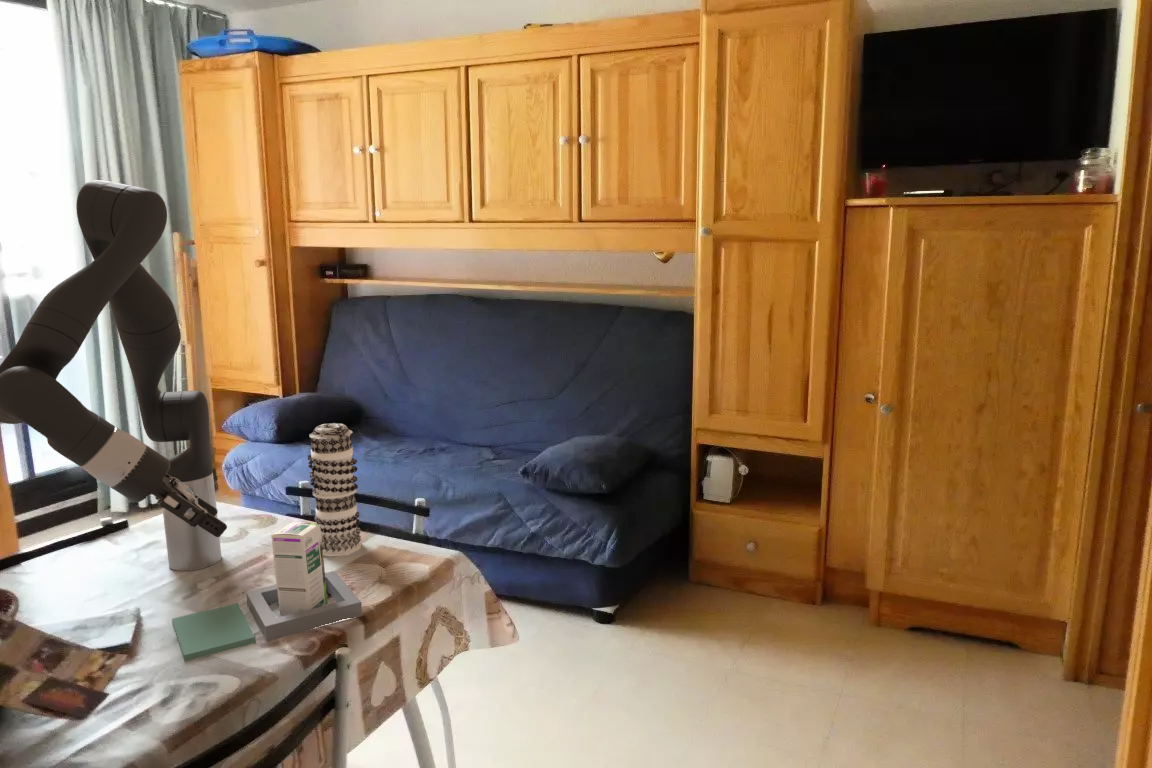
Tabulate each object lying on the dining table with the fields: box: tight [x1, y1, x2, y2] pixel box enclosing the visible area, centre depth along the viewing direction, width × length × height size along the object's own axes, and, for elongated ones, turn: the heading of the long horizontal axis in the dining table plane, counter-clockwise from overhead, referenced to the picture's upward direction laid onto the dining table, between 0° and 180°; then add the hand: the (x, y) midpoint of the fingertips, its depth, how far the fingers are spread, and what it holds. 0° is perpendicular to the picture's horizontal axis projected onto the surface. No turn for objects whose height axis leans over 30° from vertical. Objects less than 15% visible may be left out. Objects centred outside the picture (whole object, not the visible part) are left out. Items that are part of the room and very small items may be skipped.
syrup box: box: [271, 521, 329, 617], centre depth 136 cm, size 6×6×14 cm
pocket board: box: [245, 570, 363, 642], centre depth 137 cm, size 15×15×2 cm
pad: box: [171, 602, 256, 662], centre depth 130 cm, size 14×10×1 cm
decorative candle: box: [307, 422, 362, 557], centre depth 161 cm, size 9×9×25 cm
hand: (218, 523), depth 128 cm, fingers open, 8 cm apart
